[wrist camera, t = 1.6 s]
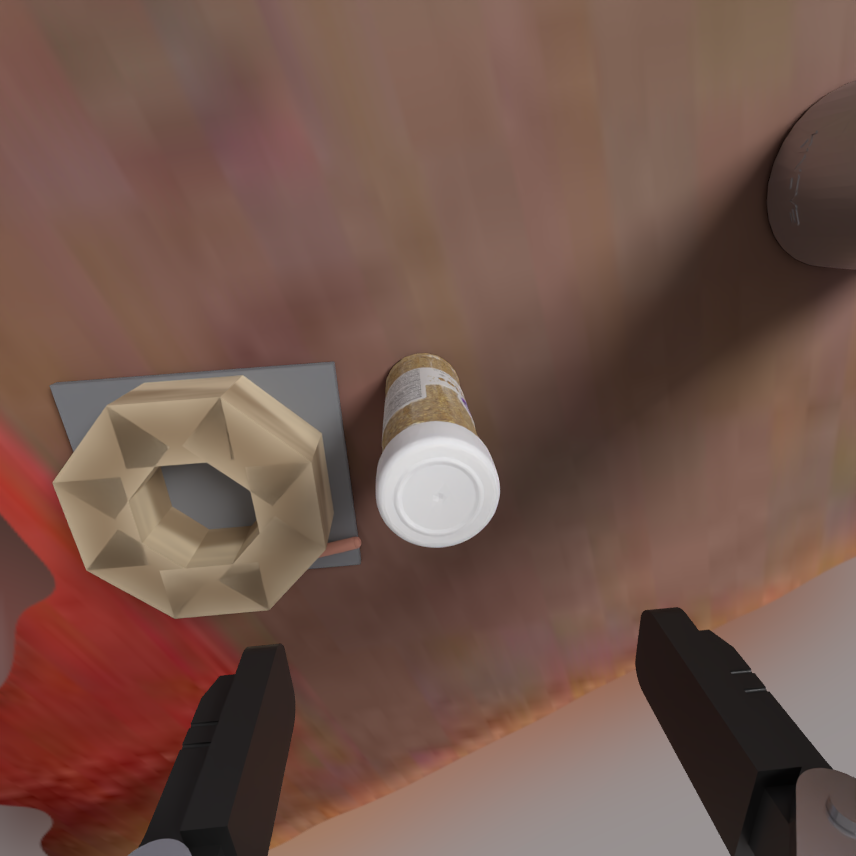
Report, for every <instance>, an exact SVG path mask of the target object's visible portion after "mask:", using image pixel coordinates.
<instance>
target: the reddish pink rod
mask: <svg viewBox="0 0 856 856" xmlns="http://www.w3.org/2000/svg"><path fill="white" fill-rule="evenodd" d="M360 546H361V539H360V538H359V537H351V538H347V539H342V540H338V541H334V542H330V543H327V547H326V550H325V551H324V552H323V553H322V554H321V555H320V556H319V557H318V558H320V557H324V556H329V555H333V554H337V553H341V552H345V551H349V550H354V549H357V548H359V547H360Z"/></svg>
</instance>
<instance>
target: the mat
mask: <svg viewBox="0 0 856 856" xmlns="http://www.w3.org/2000/svg"><path fill="white" fill-rule="evenodd" d="M240 375H243V376H245V377H246V378H247V379H249V380H250V381H251V382H253V383H254V384H256V385H257V386H258V387H260V388H261V389H262V390H264V391H265V392H266V393H268V394H269V395H271V396H272V397H273V398H275V399H276V400H277V401H279V402H280V403H281V404H283V405H284V406H285V407H287V408H288V409H290V410H291V411H292V412H294V413H295V414H296V415H298V416H299V417H300V418H302V419H303V420H305V421H306V422H307V423H309V424H310V425H311V426H313V427H314V428H315V429H317V430H318V431H319V432H321V433H322V438H323V444H324V451H325V457H326V464H327V470H328V477H329V483H330V490H331V496H332V503H333V509H334V515H333V520H332V524H331V529H330V533H329V538H328V543H330V542H334V541H338V540H342V539H347V538H351V537H358V532H357V524H356V517H355V510H354V502H353V495H352V488H351V480H350V473H349V465H348V458H347V451H346V443H345V436H344V429H343V421H342V414H341V407H340V399H339V392H338V384H337V377H336V370H335V362H322V363H309V364H296V365H282V366H269V367H256V368H243V369H229V370H216V371H203V372H189V373H176V374H163V375H150V376H136V377H123V378H110V379H97V380H83V381H70V382H57V383H54V384H52V385H50V388H51V391H52V394H53V396H54V399H55V402H56V405H57V408H58V410H59V413H60V416H61V419H62V421H63V424H64V427H65V430H66V432H67V435H68V438H69V441H70V443H71V446H72V449H73V452H74V451H75V450H76V448H77V447H78V446H79V444H80V443H81V441H82V440H83V438H84V437H85V436H86V434H87V433H88V431H89V430H90V428H91V427H92V426H93V424H94V423H95V421H96V420H97V418H98V417H99V415H100V414H101V413H102V411H103V410H104V408H105V407H106V406H107V405H108V404H110V403H112V402H113V401H115V400H117V399H118V398H120V397H121V396H123V395H125V394H126V393H128V392H130V391H131V390H133V389H135V388H136V387H138V386H140V385H141V384H143V383H147V382H160V381H174V380H187V379H200V378H213V377H226V376H240ZM161 470H162V473H163V477H164V480H165V484H166V487H167V491H168V494H169V497H170V501H171V504H172V507H174V508H176V509H177V510H179V511H180V512H182V513H184V514H185V515H187V516H189V517H190V518H192V519H193V520H195V521H197V522H198V523H200V524H201V525H203V526H205V527H206V528H208V529H220V528H232V527H243V526H252V525H253V523H254V522H255V521H256V520H257V519H256V514H255V510H254V505H253V501H252V496H251V492H250V491H249V490H248V489H246V488H245V487H243V486H242V485H240V484H239V483H237V482H236V481H234V480H233V479H231V478H230V477H228V476H227V475H225V474H224V473H222V472H221V471H219V470H218V469H216V468H214V467H213V466H211V465H210V464H208V463H207V462H206V463H193V464H181V465H169V466H162V467H161ZM359 564H361V554H360V547H359V548H357V549H354V550H349V551H345V552H341V553H337V554H333V555H329V556H324V557H320V558H318V559H317V560H316V561H315V562H314V563H313V564H312V565H311V566H310V567H309V568H308V569H314V568H325V567H336V566H348V565H359Z"/></svg>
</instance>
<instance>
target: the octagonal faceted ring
mask: <svg viewBox="0 0 856 856" xmlns="http://www.w3.org/2000/svg"><path fill="white" fill-rule="evenodd" d="M206 462H207V463H208V464H210V465H211V466H213V467H214V468H216V469H218V470H219V471H221V472H222V473H224V474H225V475H227V476H228V477H230V478H231V479H233V480H234V481H236V482H237V483H239V484H240V485H242V486H243V487H245V488H246V489H248V490H249V491H250V492H251V496H252V501H253V505H254V510H255V514H256V519H257V520H256V521H255V522H254V523H253V525H252V526H243V527H232V528H220V529H208V528H206V527H205V526H203V525H201V524H200V523H198V522H197V521H195V520H193V519H192V518H190V517H189V516H187V515H185V514H184V513H182V512H180V511H179V510H177V509H176V508H174V507H172V504H171V501H170V497H169V494H168V491H167V487H166V484H165V480H164V477H163V473H162V470H161V467H162V466H169V465H181V464H193V463H206ZM53 486H54V488H55V491H56V493H57V496H58V499H59V501H60V504H61V506H62V509H63V511H64V514H65V517H66V519H67V522H68V524H69V527H70V529H71V532H72V535H73V537H74V540H75V542H76V545H77V547H78V550H79V553H80V555H81V558H82V560H83V563H84V565H85V568H86V570H87V571H88V572H90V573H92V574H94V575H96V576H98V577H99V578H101V579H103V580H105V581H107V582H109V583H110V584H112V585H114V586H116V587H118V588H120V589H121V590H123V591H125V592H127V593H129V594H131V595H132V596H134V597H136V598H138V599H140V600H142V601H143V602H145V603H147V604H149V605H151V606H153V607H154V608H156V609H158V610H160V611H162V612H164V613H165V614H167V615H169V616H171V617H173V618H175V619H177V618H188V617H199V616H210V615H221V614H232V613H243V612H254V611H265V610H270V609H271V608H272V607H273V605H274V604H275V603H276V602H277V601H278V600H279V599H280V598H281V597H282V596H283V595H284V594H285V593H286V592H287V591H288V589H289V588H290V587H291V586H292V585H293V584H294V583H295V582H296V581H297V580H298V579H299V578H300V577H301V576H302V575H303V573H304V572H305V571H306V570H307V569H308V568H309V567H310V566H311V565H312V564H313V563H314V562H315V561H316V560H317V559H318V557H319V556H320V555H321V554H322V553H323V552H324V551H325V550H326V547H327V543H328V538H329V533H330V529H331V524H332V520H333V515H334V509H333V503H332V496H331V490H330V483H329V477H328V470H327V464H326V457H325V451H324V444H323V438H322V433H321V432H319V431H318V430H317V429H315V428H314V427H313V426H311V425H310V424H309V423H307V422H306V421H305V420H303V419H302V418H300V417H299V416H298V415H296V414H295V413H294V412H292V411H291V410H290V409H288V408H287V407H285V406H284V405H283V404H281V403H280V402H279V401H277V400H276V399H275V398H273V397H272V396H271V395H269V394H268V393H266V392H265V391H264V390H262V389H261V388H260V387H258V386H257V385H256V384H254V383H253V382H251V381H250V380H249V379H247V378H246V377H245V376H243V375H240V376H226V377H213V378H200V379H187V380H174V381H160V382H147V383H143V384H141V385H140V386H138V387H136V388H135V389H133V390H131V391H130V392H128V393H126V394H125V395H123V396H121V397H120V398H118V399H117V400H115V401H113V402H112V403H110V404H108V405H107V406H106V407H105V408H104V410H103V411H102V413H101V414H100V415H99V417H98V418H97V420H96V421H95V423H94V424H93V426H92V427H91V428H90V430H89V431H88V433H87V434H86V436H85V437H84V438H83V440H82V441H81V443H80V444H79V446H78V447H77V448H76V450H75V451H74V453H73V454H72V456H71V457H70V458H69V460H68V461H67V463H66V464H65V466H64V467H63V468H62V470H61V471H60V473H59V474H58V476H57V477H56V478H55V480H54V481H53Z"/></svg>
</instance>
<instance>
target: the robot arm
mask: <svg viewBox="0 0 856 856" xmlns="http://www.w3.org/2000/svg"><path fill="white" fill-rule="evenodd" d="M767 209H768V218H769V222H770V225H771V228H772V231H773V234H774V236H775V238H776V239H777V241H778V242H779V244H780V245H781V247H782V248H783V249H784V250H785V251H786V252H787V253H788V254H790V255H791V256H792V257H793V258H794V259H797V260H799V261H801V262H803V263H806V264H808V265H814V266H820V267H829V268H840V269H852V270H856V81H853V82H850V83H847V84H845V85H843V86H841V87H839V88H837V89H836V90H834V91H832V92H830V93H828V94H827V95H825V96H824V97H823V98H822V99H820V100H819V101H818V102H817V103H815V104H814V105H813V106H812V107H810V108H809V110H808V111H807V112H806V113H805V114H804V115H803V116H802V117H801V118H800V119H799V121H798V122H797V123H796V124H795V125H794V127H793V128H792V130H791V131H790V133H789V134H788V136H787V137H786V139H785V140H784V142H783V144H782V146H781V148H780V150H779V153H778V155H777V157H776V159H775V161H774V164H773V168H772V172H771V175H770V179H769V183H768V194H767ZM635 665H636V672H637V677H638V681H639V684H640V686H641V689H642V691H643V693H644V695H645V697H646V699H647V701H648V702H649V704H650V706H651V708H652V710H653V712H654V714H655V715H656V717H657V719H658V721H659V723H660V725H661V727H662V729H663V730H664V732H665V734H666V736H667V738H668V740H669V742H670V743H671V745H672V747H673V749H674V751H675V753H676V754H677V756H678V758H679V760H680V762H681V764H682V766H683V768H684V769H685V771H686V773H687V775H688V777H689V778H690V780H691V782H692V784H693V786H694V788H695V790H696V792H697V794H698V795H699V797H700V799H701V801H702V803H703V805H704V807H705V808H706V810H707V812H708V814H709V816H710V818H711V820H712V821H713V823H714V825H715V827H716V829H717V831H718V833H719V834H720V836H721V838H722V840H723V842H724V844H725V845H726V847H727V849H728V851H729V853H730V855H731V856H856V778H854V777H851V776H849V775H847V774H845V773H842V772H839V771H836V770H833V769H832V767H831V766H830V765H829V764H828V763H827V762H826V761H825V759H824V758H823V757H822V756H821V755H820V753H819V752H818V751H817V750H816V748H815V747H814V746H813V745H812V743H811V742H810V741H809V740H808V739H807V737H806V736H805V735H804V734H803V732H802V731H801V730H800V729H799V727H798V726H797V725H796V724H795V722H794V721H793V720H792V719H791V718H790V716H789V715H788V714H787V713H786V711H785V710H784V709H783V708H782V707H781V705H780V704H779V703H778V702H777V700H776V699H775V698H774V697H773V695H772V694H771V693H770V692H767V691H766V687H765V686H764V684H763V683H762V682H761V681H760V679H759V678H758V677H757V676H756V674H755V673H752V672H751V668H750V667H749V666H748V665H747V664H746V662H745V661H744V660H743V659H742V657H741V656H740V655H739V654H738V652H737V651H736V650H735V649H734V647H732V646H731V645H729V644H728V643H727V642H725V641H724V640H723V639H721V638H720V637H718V636H717V635H715V634H714V633H713V632H712V631H710V630H702V631H699V630H698V629H697V628H696V626H695V625H694V624H693V622H692V621H691V620H690V618H689V617H688V616H687V614H686V613H685V612H684V611H683V610H682V609H680V608H678V607H675V608H665V609H654V610H645V611H643V613H642V615H641V620H640V628H639V636H638V644H637V652H636V661H635ZM294 720H295V694H294V689H293V684H292V680H291V675H290V671H289V666H288V662H287V657H286V653H285V649H284V646H283V645H282V644H273V645H262V646H252V647H247V648H246V649H245V650H244V652H243V654H242V657H241V660H240V663H239V665H238V668H237V671H236V674H234V675H224V676H220V677H219V678H218V679H217V680H216V681H215V683H214V684H213V685H212V686H211V687H210V689H209V690H208V691H207V692H206V693H205V695H204V696H203V697H202V698H201V700H200V703H199V705H198V708H197V710H196V713H195V715H194V717H193V720H192V722H191V728H189V730H188V732H187V734H186V737H185V739H184V742H183V744H182V745H183V747H182V750H180V752H179V754H178V756H177V759H176V761H175V764H174V766H173V769H172V771H171V773H170V776H169V778H168V781H167V783H166V786H165V788H164V791H163V793H162V795H161V798H160V800H159V803H158V805H157V808H156V810H155V812H154V815H153V817H152V820H151V822H150V825H149V827H148V830H147V832H146V834H145V836H144V838H143V840H142V842H141V844H140V845H139V847H138V849H136V850H135V851H133V852H132V853H130V854H129V855H128V856H268V851H269V846H270V841H271V836H272V831H273V826H274V821H275V816H276V811H277V806H278V801H279V796H280V791H281V786H282V781H283V777H284V772H285V767H286V762H287V757H288V752H289V747H290V742H291V737H292V732H293V727H294Z"/></svg>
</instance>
